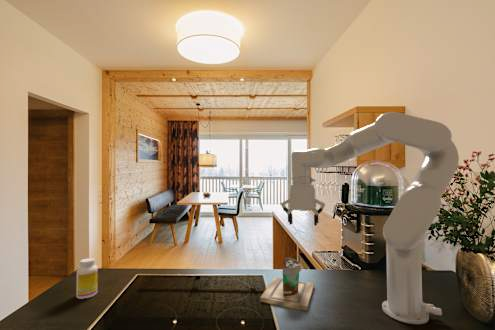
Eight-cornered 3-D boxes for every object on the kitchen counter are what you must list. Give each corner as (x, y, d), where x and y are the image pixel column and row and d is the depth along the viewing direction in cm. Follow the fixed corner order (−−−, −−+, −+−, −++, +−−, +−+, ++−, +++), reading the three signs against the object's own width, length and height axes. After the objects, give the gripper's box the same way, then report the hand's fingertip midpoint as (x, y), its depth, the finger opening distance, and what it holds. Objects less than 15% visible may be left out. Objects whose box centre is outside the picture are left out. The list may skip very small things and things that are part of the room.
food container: (300, 299, 86) (300, 270, 86) (282, 297, 87) (282, 268, 87) (301, 284, 98) (301, 258, 98) (285, 282, 99) (285, 257, 99)
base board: (314, 287, 98) (314, 282, 98) (307, 310, 81) (307, 305, 82) (274, 280, 104) (274, 276, 104) (260, 301, 87) (260, 296, 88)
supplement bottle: (100, 294, 93) (100, 259, 93) (79, 301, 88) (79, 264, 88) (94, 289, 97) (94, 255, 98) (74, 295, 92) (74, 260, 93)
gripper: (324, 180, 101) (326, 223, 100) (282, 181, 107) (283, 222, 106) (323, 181, 94) (325, 227, 93) (278, 182, 100) (279, 225, 99)
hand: (303, 224), depth 100 cm, fingers open, 9 cm apart
